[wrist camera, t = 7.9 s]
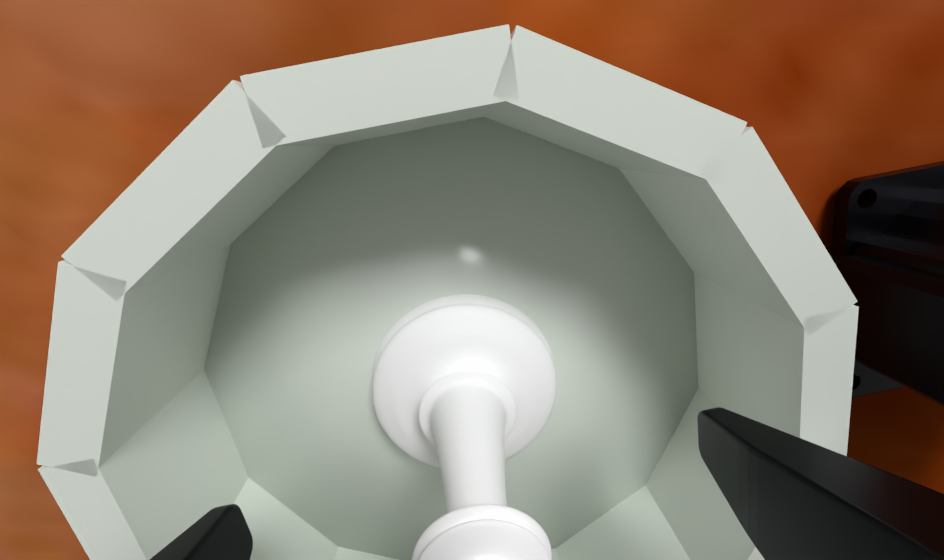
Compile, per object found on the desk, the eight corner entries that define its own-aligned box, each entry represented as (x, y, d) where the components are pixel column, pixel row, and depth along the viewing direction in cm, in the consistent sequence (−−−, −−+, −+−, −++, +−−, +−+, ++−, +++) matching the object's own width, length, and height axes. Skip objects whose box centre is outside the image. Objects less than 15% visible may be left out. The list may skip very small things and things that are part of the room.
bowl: (708, 29, 11) (887, -49, 6) (719, 516, 15) (829, 664, 11) (93, 149, 11) (-147, 150, 6) (285, 603, 15) (222, 788, 11)
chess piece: (589, 383, 12) (1093, 1193, 3) (456, 485, 13) (496, 1413, 3) (474, 255, 11) (679, 930, 2) (333, 375, 12) (-136, 1361, 2)
